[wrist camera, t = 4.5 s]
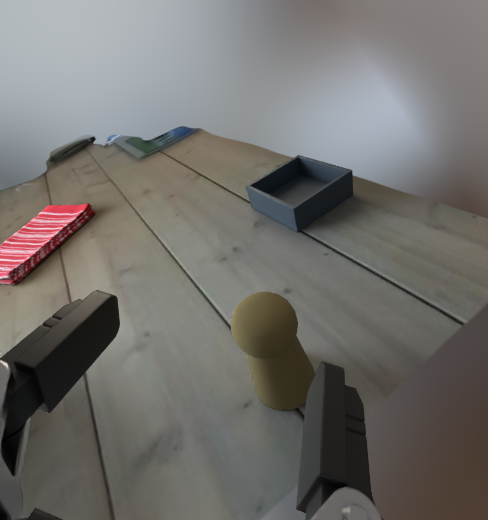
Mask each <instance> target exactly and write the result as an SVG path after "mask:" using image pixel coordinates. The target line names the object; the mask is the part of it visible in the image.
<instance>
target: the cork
mask: <svg viewBox="0 0 488 520" xmlns="http://www.w3.org/2000/svg"><path fill="white" fill-rule="evenodd" d="M297 327H298V322H297V317H296V313H295V310H294V309H293V307H292V306H291V305H290V303H289V302H288V301H287V300H286V299H285V298H283V297H282V296H280V295H278V294H275V293H271V292H259V293H255V294H252V295H250V296H248V297H246V298H245V299H244V300H242V301H241V302H240V303H239V304H238V306H237V307H236V309H235V310H234V312H233V315H232V319H231V332H232V335H233V337H234V340H235V342H236V344H237V345H238V346H239V347H240V348H241V349H242V350H243V351H244V352H245V353H246V354H247V356H248V360H249V365H250V369H251V373H252V378H253V382H254V386H255V390H256V392H257V394H258V397H259V398H260V399H261V400H262V402H263V403H264V404H265V405H267V406H269V407H271V408H272V409H274V410H281V411H288V410H294V409H296V408H298V407H300V406H302V405H303V404H305V403H306V399H307V394H308V390H309V387H310V385H311V383H312V381H313V378H314V376H315V373H314V370H313V367H312V365H311V363H310V361H309V359H308V357H307V356H306V354H305V352H304V350H303V348H302V346H301V344H300V342H299V340H298V338H297V336H296V334H297Z"/></svg>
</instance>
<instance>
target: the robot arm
mask: <svg viewBox="0 0 488 520" xmlns="http://www.w3.org/2000/svg"><path fill="white" fill-rule="evenodd" d="M119 327H120V320H119V309H118V299H117V297H116V296H115V295H111V294H108V293H105V292H102V291H99V290H96V291H94V292H92V293H91V294H90V295H89V296H87V297H86V298H85V299H84V300H81V299H78V300H76V301H74V302H71V303H69V304H67V305H65V306H63V307H62V308H61V309H60V310H59V311H57V312H56V313H55V314H54V315H53V316H52V318H51V317H50V318H49V319H48V320H46V321H45V322H44V323H43V325H42V326H41V325H40V326H39V327H38V328H37V329H35V330H34V331H33V332H32V333H31V334H29V335H28V336H27V337H26V338H24V339H23V340H22V341H21V342H20V343H18V344H17V345H16V346H15V347H13V348H12V349H11V350H10V351H9V352H7V353H6V354H5V355H4V356H2V357H1V358H0V520H63V519H60V518H58V517H56V516H53V515H51V514H49V513H46V512H44V511H42V510H40V509H37V508H35V509H34V510H33V512H32V513H31V514H30V516H29V517H28V518H22V510H23V494H22V474H23V467H24V461H25V455H26V449H27V442H28V436H29V430H30V423H31V418H30V417H31V416H32V415H33V414H34V412H35V411H36V410H37V409H40V410H42V411H45V412H47V413H50V412H51V411H52V410H53V409H54V408H55V407H56V406H57V404H58V403H59V402H60V401H61V400H62V399H63V397H64V396H65V395H66V394H67V393H68V392H69V390H70V389H71V388H72V387H73V386H74V385H75V384H76V382H77V381H78V380H79V379H80V378H81V377H82V375H83V374H84V373H85V372H86V371H87V370H88V368H89V367H90V366H91V365H92V364H93V363H94V362H95V360H96V359H97V358H98V357H99V356H100V355H101V353H102V352H103V351H104V350H105V349H106V348H107V346H108V345H109V344H110V343H111V342H112V341H113V339H114V338H115V337H116V335H117V333H118V330H119ZM364 421H365V418H364V407H363V403H362V401H361V398H360V396H359V394H358V392H357V390H356V388H353V387H350V386H346V385H345V375H344V369H343V368H342V367H339V366H336V365H333V364H329V363H326V362H323V361H322V362H321V363H320V365H319V367H318V370H317V372H316V374H315V376H314V378H313V381H312V383H311V385H310V387H309V390H308V394H307V399H306V406H305V417H304V428H303V439H302V451H301V462H300V473H299V484H298V496H297V507H296V509H297V510H299V511H302V512H304V513H306V520H383V519H382V517H381V516H380V514H379V512H378V510H377V508H376V506H375V503H374V501H373V498H372V493H371V485H370V475H369V463H368V452H367V440H366V437H365V435H366V430H365V423H364Z"/></svg>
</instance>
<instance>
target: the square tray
mask: <svg viewBox="0 0 488 520" xmlns="http://www.w3.org/2000/svg"><path fill="white" fill-rule="evenodd" d="M246 190H247V193H248V197H249V200H250V203H251V207H252V208H254V209H256V210H258V211H259V212H261V213H263V214H265V215H267V216H269V217H270V218H272V219H274V220H276V221H278V222H279V223H281V224H283V225H285V226H287V227H289V228H290V229H292V230H294V231H296V232H299V231H300V230H302V229H303V228H305V227H306V226H308V225H309V224H310V223H312V222H313V221H315V220H316V219H318V218H319V217H321V216H322V215H323V214H325V213H326V212H328V211H329V210H331V209H332V208H334V207H335V206H336V205H338V204H339V203H341V202H342V201H344V200H345V199H347V198H348V197H349V196H351V195H352V194H353V180H352V170H349V169H346V168H342V167H339V166H335V165H331V164H328V163H325V162H321V161H318V160H314V159H310V158H307V157H303V156H300V155H298V156H296V157H294V158H293V159H291V160H289V161H287V162H286V163H284V164H282V165H281V166H279V167H277V168H276V169H274V170H272V171H271V172H269V173H267V174H266V175H264V176H262V177H261V178H259V179H257V180H255V181H254V182H252V183H250V184H249V185H247V186H246Z"/></svg>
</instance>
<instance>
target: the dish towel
mask: <svg viewBox="0 0 488 520" xmlns="http://www.w3.org/2000/svg"><path fill="white" fill-rule="evenodd" d="M91 207H92V206H91V205H90V204H89V203H88V204H84V205H50V206H47V207H46V208H45V209H44V210H43V211H42V212H40V213H39V214H38V216H36V217H35V218H34V219H32V220H31V221H30V222H29V223H28V224H27V225H25V226H24V227H22V228H21V229H20V230H19V231H17V232H16V233H15V234H13V235H12V236H11V237H10V238H9V239H8V240H6V241H5V242H4V243H3V244H2V245H0V283H2V284H11V285H15V284H17V283H18V282H19V281H20V280H21V279H22V278H24V276H26V275H27V274H28V273H29V272H30V271H31V270H32V269H33V268H35V267H36V266H37V265H38V264H39V263H40V262H41V261H42V260H44V259H45V258H46V257H47V256H48V255H49V254H50V253H51V252H52V251H53V250H55V249H56V248H57V247H58V246H59V245H60V244H61V243H63V242H64V241H65V240H66V239H67V238H68V237H69V236H70V235H71V234H73V233H74V232H75V231H76V230H77V229H78V228H80V227H81V226H82V225H83V224H84V223H85V222H86V221H87V220H89V219H90V217H92V216H93V215H94V214H95V212H94V211H93V210H92V209H91Z"/></svg>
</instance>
